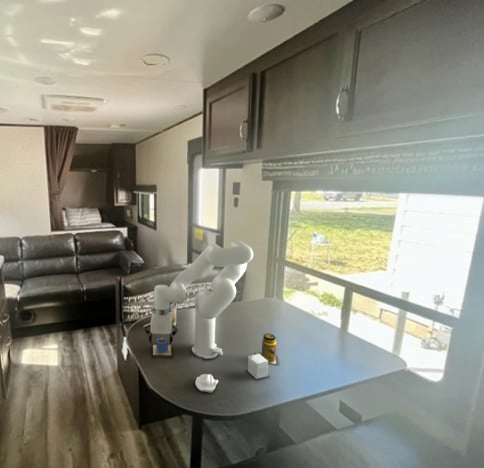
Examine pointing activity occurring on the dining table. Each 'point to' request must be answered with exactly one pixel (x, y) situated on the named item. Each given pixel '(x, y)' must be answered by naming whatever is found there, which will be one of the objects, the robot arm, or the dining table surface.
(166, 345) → the spool
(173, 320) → the coffee box
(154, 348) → the dowel stand
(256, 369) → the product carton
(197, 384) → the rose
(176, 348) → the dining table surface
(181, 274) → the robot arm
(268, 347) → the condiment
